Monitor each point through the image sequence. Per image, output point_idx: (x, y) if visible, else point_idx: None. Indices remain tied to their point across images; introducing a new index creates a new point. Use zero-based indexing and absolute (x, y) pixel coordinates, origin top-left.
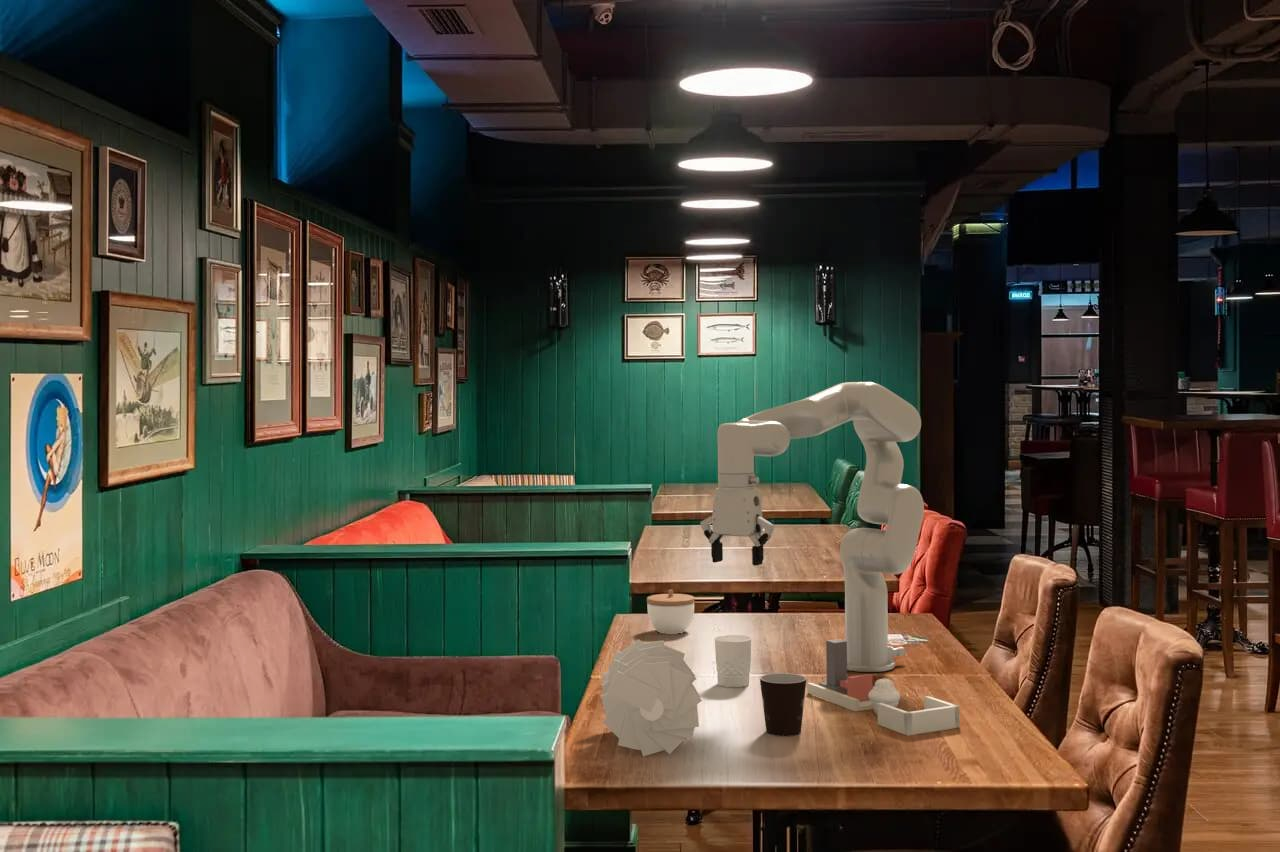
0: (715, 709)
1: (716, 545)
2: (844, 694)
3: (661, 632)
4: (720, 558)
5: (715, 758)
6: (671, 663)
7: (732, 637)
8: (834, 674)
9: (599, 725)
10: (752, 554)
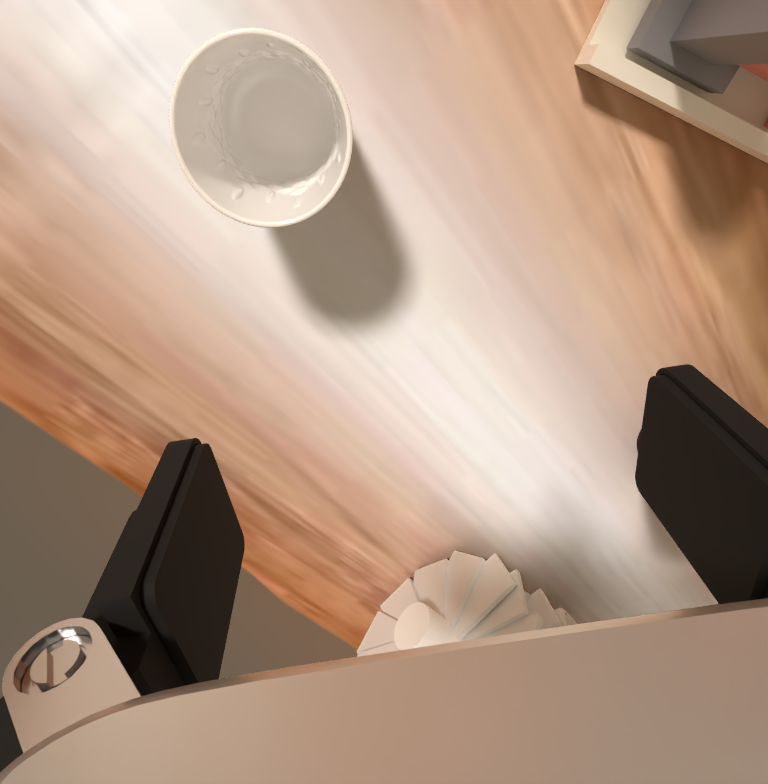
0: (443, 394)
1: (209, 677)
2: None
3: None
4: (215, 490)
5: (629, 601)
6: None
7: (199, 61)
8: (738, 62)
9: (338, 600)
10: (690, 556)
